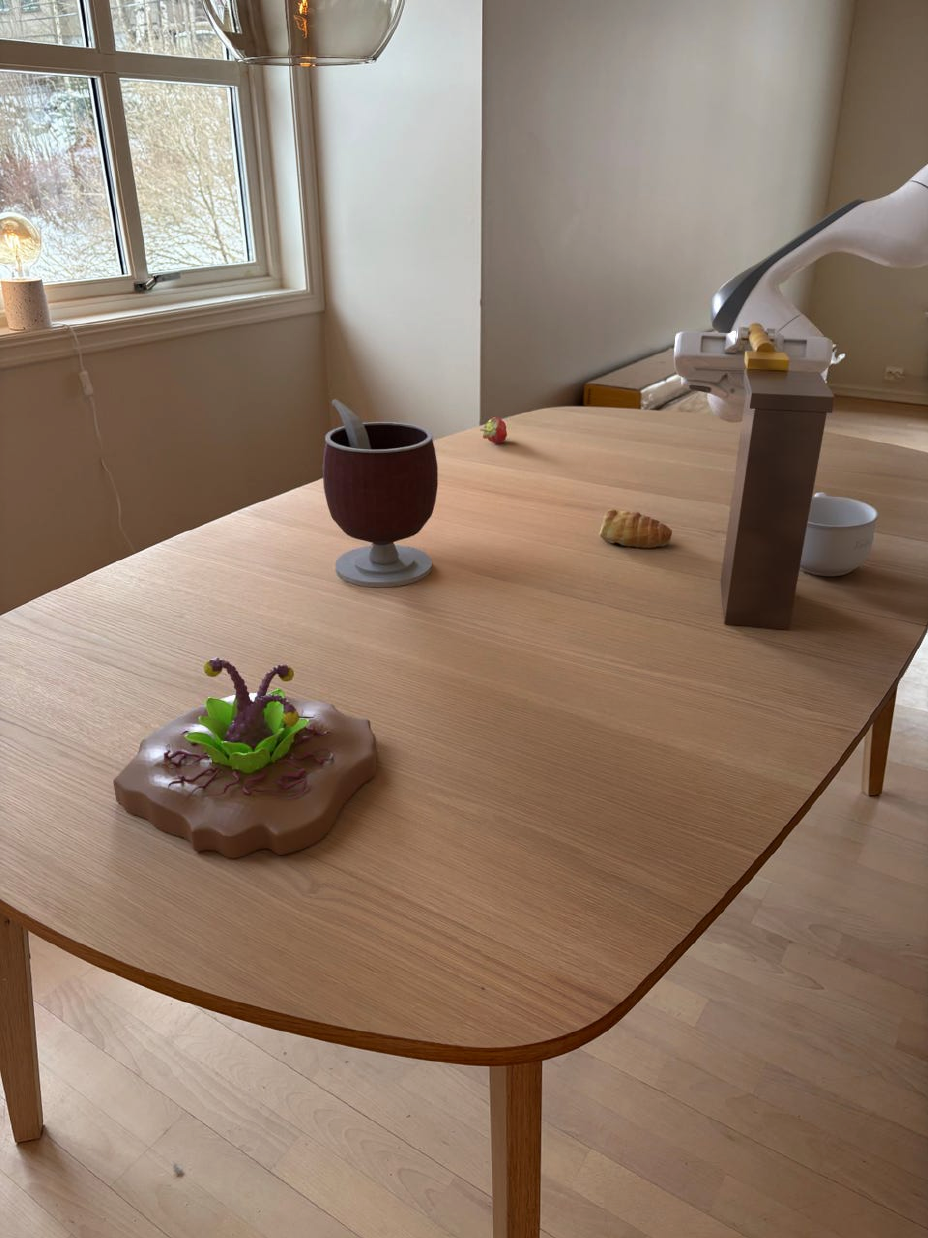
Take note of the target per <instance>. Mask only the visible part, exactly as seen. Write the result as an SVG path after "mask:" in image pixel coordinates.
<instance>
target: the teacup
mask: <svg viewBox="0 0 928 1238" xmlns="http://www.w3.org/2000/svg"><path fill="white" fill-rule="evenodd" d="M878 518H879V512H878V510H877V509H876V508H874V506H873V505H870V504H868V503H866V502H863V501H860V500H859V499H858V500H857V499H853V498H849V497H848V498H847V497H841V496H832V495H831V496H829V494H828V493H826V492H816V493H815V494H814V495H813V496H812V501H811V506H810V512H809V518H808V523H807V529H806V535H805V541H804V546H803V552H802V558H801V563H800V569H799V570H801V571H803V572H805V573H807V574H810V575H814V576H819V577H820V576H821V577H840V576H844V575H847V574H849V573H851V572H852V571H854V570H856V569H857V568H859V567H861V566H862V565H863V564H864V563H865V562H866V561H867V560H868V558H869V556H870V553H871V550H872V546H873V542H874V536H875V532H876V525H877V524H876V523H877V520H878Z"/></svg>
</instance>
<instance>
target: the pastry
mask: <svg viewBox="0 0 928 1238" xmlns="http://www.w3.org/2000/svg"><path fill="white" fill-rule="evenodd" d="M602 520H603V521H602V523H601V527H600V531H599V533H598V535H599V537H600V538H601V539H602V540H604V541H605V542H606V543H607V544H608V543H611V544H614V543H617V544H620V545H621V546H626V547H636V548H637V549H638V548H642V549H644V548H645V549H646V548H647V549H652V548H656V547H665V546H666V545H668V544H669V543H670V542H671V539H672V538H671V537H672V535H673V530H672V529H671V528H670V527H669V526H668V525H666V524H664V523H662V522H660V520H657V519H654V518H651V517H650V516H647V515H643V514H640V512H639V511H633V512H631V511H629V510H627V509H623V510H620V511H617V510H616V509H613V508H612V509H611V508H609V509H608V510H607V511H606V512H605V514H604V517H603V519H602Z"/></svg>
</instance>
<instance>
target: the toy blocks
mask: <svg viewBox="0 0 928 1238" xmlns="http://www.w3.org/2000/svg"><path fill="white" fill-rule="evenodd" d="M748 328H750V332H749V342H750V344H751V347H752V349H753V351H746V352H745V360H744V362H745V365H746V367H747V369H757V370H779V371H788V367H789V361H790V360H789V359H788V357H787V355H786V354H785V353H781V352H775V348H774V346H773V344H772V343H771V341H770V339H769V337H768V335H767V334H766V332H765V330H764V328H763V326H762V325H761V324H759V323H753V324H751V325H750V326H749V327H748Z"/></svg>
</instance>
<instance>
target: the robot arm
mask: <svg viewBox="0 0 928 1238" xmlns="http://www.w3.org/2000/svg"><path fill="white" fill-rule="evenodd" d="M832 253H846V254H851V255H855V256H858V257H861V258H864V259H866V260H869V261H871V262H873V263H875V264H879V265H880V266H881V265H882V266H884V267H888V268H892V269H899V270H911V269H914V270H915V269H919V268H922V267H926V266H928V163H927V164H926V165H925V166H923V167H922V168H921V169H920V170H919V171H917V172H916V173H915V174H914V175H913V176H912V177H911V178H910V179H908V180H907V181H906V182H905V183H904V184H903V185H902V186H900V187H899V188H898V189H897V190H894V191H893V192H892V193H890V194H888V195H885V196H882V197H880V198H876V199H873V200H867V199H859V198H858V199H855V200H852V201H850V202H848V203H846V204H844V205H842V206H840V207H839V208H837V209H835V210H834V211H832V212H830V213H829V214H828V215H826V216H825V217H823V218H821V219H820V220H819V221H817V222H816V223H814V224H813V225H812V226H810V227H808V228H807V229H805V230H804V231H802V232H801V233H800V234H799V235H797V236H796V237H793V239H791V240H790V241H788V242H787V243H786V244H783V245H782V246H781V247H780V248H778V249H777V250H775V251H774V252H772V253H771V254H770V255H768V256H766V257H765V258H764V259H762V260H760V261H759V262H757V263H756V264H754V265H752V266H751V267H748V268H747V269H745V270H743V271H742V272H740V273H739V274H737V275H735V276H734V277H732V278H731V279H729V280H728V281H726V282H725V283H724V284H723V285H721V287H720V288H719V289H718V290H717V292H716V293H715V294H714V295H713V296H712V299H711V303H710V320H711V321H710V322H711V327H712V328H713V329H714V330H715V331H716V332H713V331H712V332H711V331H709V332H708V331H691V330H689V331H688V330H684V331H680V332H677V333H676V334H675V340H674V350H673V366H674V370H675V372H676V374H677V375H678V376H679V377H680V386H681V387H682V388H683V389H686V390H692V391H697V392H701V393H706V394H707V403H708V405H709V408H710V409H711V411H712V412H713V414H714V415H715V416H716V417H717V418H719V419H720V420H722V421H724V422H728V423H732V424H733V423H734V424H735V423H737V424H738V423H742V419H743V412H744V404H745V397H746V392H745V389H744V385H743V378H744V370H745V369H747V367H746V365H745V362H744V360H745V352H746V351H753V349H752V347H751V344H750V342H749V332H750V328H748V327H749V326H750V325H751V324H753V323H759V324H761V325H762V326H763V328H764V330H765V332H766V334H767V335H768V337H769V339H770V341H771V343H772V344H773V346H774V348H775V352H781V353H785V354H786V355H787V357H788V359H789V360H790V361H789V367H788V371H808V372H820V374H821V375H822V374H823V373H824V372H826V370H827V369H829V367H830V366H831V364H832V359H833V350H834V349H833V348H834V342H833V340H832V339H831V338H828V337H827V336H825V335H824V334H823V333H822V332H821V330H819V328H818V327H817V326H815V324H814V323H813V322H812V321H811V320H810V319H809V318H808V317H807V316H806V315H805V314H804V313H802V312H801V311H800V310H799V309H798V308H797V307H796V306H795V304H793V303H792V302H791V301H790V300H789V299H788V298H787V297H786V295H784V294H783V292H782V291H781V290H780V285H782V284H783V283H785V282H786V281H788V280H790V279H791V278H792V277H794V276H795V275H796V274H798V273H800V272H801V271H802V270H804V269H805V268H807V267H808V266H810V265H811V264H813V263H814V262H816V261H817V260H819V259H820V258H822V257H824V256H826V255H828V254H832Z"/></svg>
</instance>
